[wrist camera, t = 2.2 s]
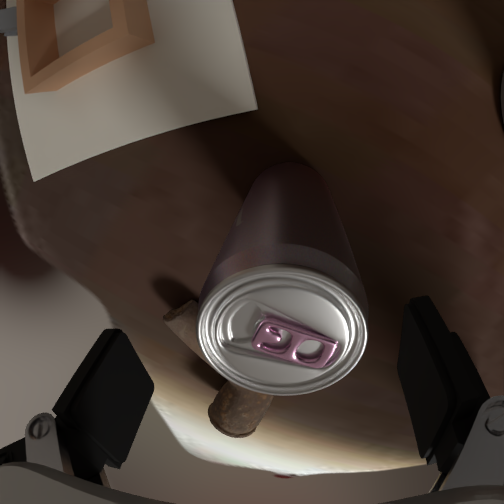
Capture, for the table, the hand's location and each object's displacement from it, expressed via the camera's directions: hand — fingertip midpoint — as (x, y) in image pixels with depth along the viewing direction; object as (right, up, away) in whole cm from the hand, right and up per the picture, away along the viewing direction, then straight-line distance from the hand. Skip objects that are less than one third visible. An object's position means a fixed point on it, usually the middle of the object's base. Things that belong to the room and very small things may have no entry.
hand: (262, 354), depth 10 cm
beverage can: (+3, +7, +13) cm, 15 cm away
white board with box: (-13, +22, +8) cm, 27 cm away
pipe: (-3, -8, +22) cm, 24 cm away
